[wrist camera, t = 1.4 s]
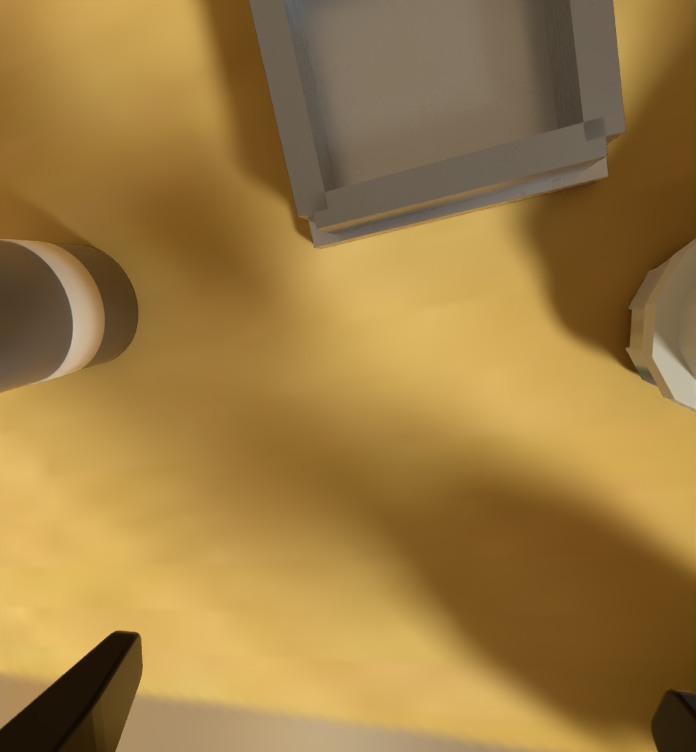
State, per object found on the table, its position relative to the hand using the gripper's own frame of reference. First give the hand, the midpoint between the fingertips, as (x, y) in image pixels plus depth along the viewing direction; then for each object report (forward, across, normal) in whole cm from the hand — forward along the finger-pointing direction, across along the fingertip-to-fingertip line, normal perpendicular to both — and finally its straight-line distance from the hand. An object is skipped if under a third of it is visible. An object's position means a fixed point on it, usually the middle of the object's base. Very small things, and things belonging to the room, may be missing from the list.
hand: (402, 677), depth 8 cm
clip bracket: (+14, 0, -14) cm, 19 cm away
